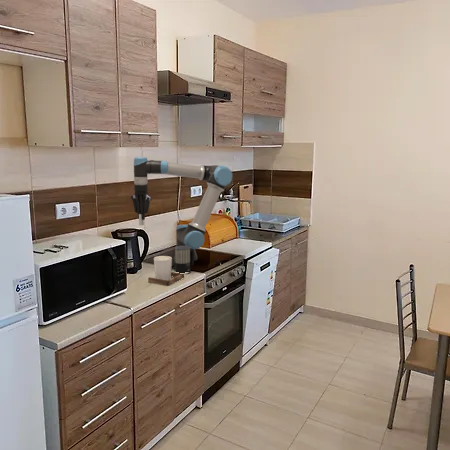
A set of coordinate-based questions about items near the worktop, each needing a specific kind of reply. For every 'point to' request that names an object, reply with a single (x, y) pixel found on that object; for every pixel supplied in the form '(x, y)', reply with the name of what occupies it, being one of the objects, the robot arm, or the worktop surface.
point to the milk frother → (183, 259)
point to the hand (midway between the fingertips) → (141, 225)
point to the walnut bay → (167, 282)
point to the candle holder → (163, 267)
